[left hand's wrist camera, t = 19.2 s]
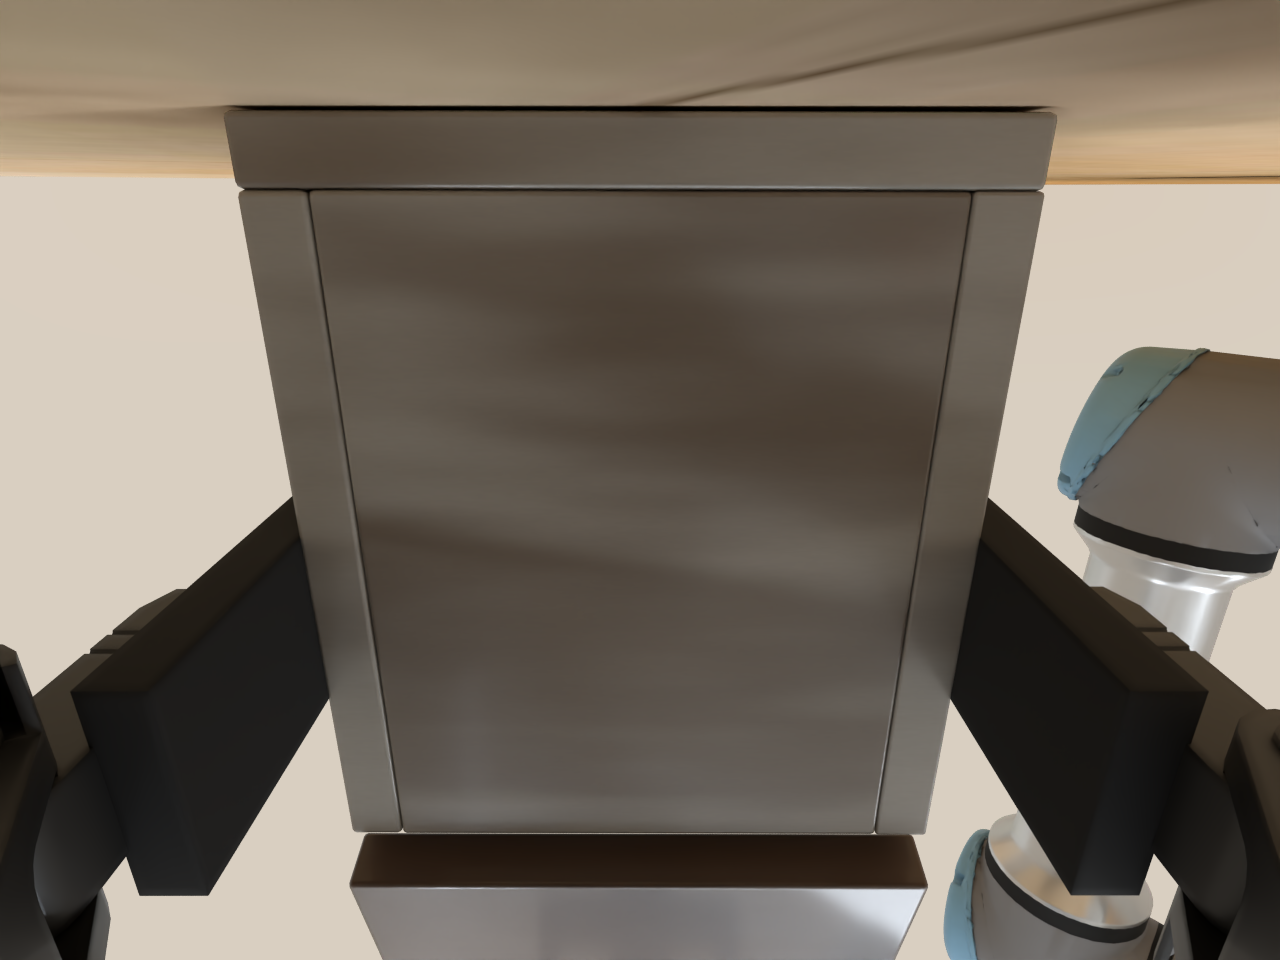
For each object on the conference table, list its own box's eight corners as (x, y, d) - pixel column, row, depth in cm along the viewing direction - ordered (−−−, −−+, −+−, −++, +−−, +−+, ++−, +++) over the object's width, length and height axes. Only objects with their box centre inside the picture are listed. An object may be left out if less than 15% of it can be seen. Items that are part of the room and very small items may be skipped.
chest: (783, 167, 24) (762, 469, 28) (498, 166, 24) (516, 469, 28) (1061, 110, 8) (926, 835, 12) (218, 108, 8) (351, 834, 12)
